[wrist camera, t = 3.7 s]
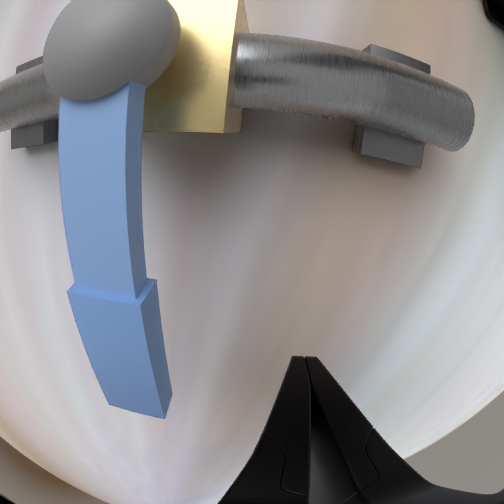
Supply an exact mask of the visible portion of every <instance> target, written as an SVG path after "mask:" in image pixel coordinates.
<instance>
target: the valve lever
mask: <svg viewBox="0 0 504 504" xmlns="http://www.w3.org/2000/svg"><path fill="white" fill-rule="evenodd" d="M180 33H181V27H180V20H179V16H178V14H177V12H176V10H175V9H174V7H173V6H172V5H171V4H170V2H169V1H168V0H72V1H71V2H70V3H69V4H68V5H67V6H66V7H65V8H64V9H63V11H62V12H61V13H60V15H59V16H58V17H57V19H56V21H55V22H54V24H53V26H52V28H51V30H50V32H49V34H48V37H47V40H46V43H45V47H44V53H43V71H44V75H45V78H46V81H47V83H48V85H49V86H50V88H51V89H52V90H53V91H54V92H55V93H56V94H58V95H59V96H60V109H59V176H60V191H61V202H62V211H63V219H64V227H65V234H66V240H67V246H68V252H69V257H70V262H71V267H72V272H73V276H74V281H75V283H74V284H73V285H72V286H71V287H70V288H69V289H68V291H67V294H68V297H69V301H70V305H71V308H72V311H73V315H74V318H75V321H76V324H77V327H78V330H79V333H80V336H81V339H82V342H83V345H84V347H85V350H86V353H87V355H88V358H89V360H90V363H91V365H92V368H93V370H94V373H95V375H96V377H97V380H98V382H99V384H100V386H101V389H102V391H103V393H104V395H105V397H106V399H107V401H108V403H109V405H112V406H115V407H119V408H122V409H126V410H129V411H133V412H137V413H141V414H145V415H149V416H153V417H157V418H162V419H165V417H166V414H167V411H168V407H169V404H170V401H171V397H172V389H171V384H170V378H169V372H168V366H167V360H166V354H165V347H164V340H163V333H162V325H161V317H160V309H159V299H158V289H157V280H156V279H148V278H147V277H146V266H145V254H144V241H143V223H142V193H141V156H142V127H143V110H144V97H145V89H146V88H147V87H149V86H150V85H151V84H152V83H153V82H155V81H156V80H157V79H158V78H159V77H160V76H161V74H162V73H163V72H164V71H165V69H166V68H167V67H168V65H169V64H170V62H171V61H172V59H173V57H174V55H175V53H176V50H177V47H178V44H179V40H180Z"/></svg>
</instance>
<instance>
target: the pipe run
mask: <svg viewBox="0 0 504 504" xmlns="http://www.w3.org/2000/svg"><path fill="white" fill-rule="evenodd" d="M168 1H169V2H170V4H171V5H172V6H173V7H174V9H175V10H176V12H177V14H178V16H179V20H180V27H181V33H180V40H179V44H178V47H177V50H176V53H175V55H174V57H173V59H172V61H171V62H170V64H169V65H168V67H167V68H166V69H165V71H164V72H163V73H162V74H161V76H160V77H159V78H158V79H157V80H156V81H155V82H153V83H152V84H151V85H150V86H149V87H147V88H146V89H145V97H144V110H143V127H142V132H211V133H233V132H241V121H242V110H243V108H252V109H263V110H273V111H282V112H290V113H297V114H304V115H311V116H317V117H323V118H329V119H334V120H339V121H344V122H349V123H354V124H356V128H355V136H354V143H353V151H352V152H355V153H359V154H363V155H368V156H372V157H377V158H381V159H386V160H390V161H394V162H398V163H402V164H406V165H410V166H413V167H417V168H421V162H422V156H423V150H424V143H427V144H430V145H433V146H436V147H439V148H442V149H445V150H448V151H452V152H453V151H458V150H459V149H461V148H462V147H463V146H464V145H465V144H466V143H467V142H468V140H469V138H470V136H471V134H472V131H473V126H474V117H475V116H474V107H473V103H472V101H471V99H470V97H469V95H468V94H467V93H466V92H465V91H463V90H462V89H460V88H458V87H456V86H454V85H452V84H449V83H447V82H445V81H443V80H441V79H439V78H436V77H434V76H432V75H430V65H428V64H426V63H423V62H421V61H418V60H416V59H413V58H411V57H408V56H405V55H403V54H400V53H397V52H394V51H391V50H388V49H385V48H382V47H379V46H376V45H373V44H370V45H369V46H368V47H366V48H365V49H363V50H362V51H359V50H355V49H351V48H347V47H343V46H339V45H334V44H329V43H324V42H319V41H313V40H307V39H301V38H294V37H286V36H278V35H267V34H254V33H249V27H248V21H247V15H246V10H245V4H244V0H168ZM59 109H60V96H59V95H58V94H56V93H55V92H54V91H53V90H52V89H51V88H50V86H49V85H48V83H47V81H46V78H45V75H44V71H43V56H41V57H38V58H36V59H34V60H31V61H29V62H26V63H24V64H22V65H20V66H18V67H17V69H16V75H14V76H11V77H9V78H7V79H5V80H3V81H1V82H0V132H3V131H6V130H10V129H11V149H16V148H22V147H27V146H33V145H39V144H45V143H50V142H55V141H57V121H58V118H59Z"/></svg>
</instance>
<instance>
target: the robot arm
mask: <svg viewBox="0 0 504 504" xmlns="http://www.w3.org/2000/svg"><path fill="white" fill-rule="evenodd" d="M483 4H484V9H485V13H486V15H487V17H488V18H489V19H490V20H491V21H492V22H494V23H495V24H497V25H498V26H499V27H500V28H502V29H503V30H504V0H483ZM0 504H16V503H14V502H13V501H12V500H10V499H9V498H7V497H6V496H4V495H3V494H1V493H0ZM218 504H504V489H502V490H501V491H500V492H498V493H495V494H476V493H471V492H465V491H460V490H454V489H450V488H445V487H441V486H437V485H434V484H432V483H430V482H429V481H427V480H426V479H424V478H423V477H422V476H421V475H420V474H418V473H417V472H416V471H415V470H414V469H413V468H412V467H411V466H410V465H409V464H408V463H407V462H405V461H404V460H403V459H402V458H401V457H400V456H399V455H398V454H397V453H396V452H395V451H394V450H393V449H392V448H391V447H390V446H389V445H388V444H387V442H386V441H385V440H384V439H383V438H382V437H381V436H380V434H379V433H378V432H377V431H376V429H375V428H373V426H372V425H371V423H370V422H369V421H368V420H367V419H366V417H365V416H364V415H363V414H362V412H361V411H360V410H359V409H358V407H357V406H356V405H355V404H354V402H353V401H352V400H351V399H350V398H349V396H348V395H347V394H346V393H345V391H344V390H343V389H342V388H341V386H340V385H339V384H338V383H337V381H336V380H335V379H334V378H333V376H332V375H331V374H330V373H329V371H328V370H327V369H326V367H325V366H324V365H323V364H322V362H321V361H320V360H319V359H318V358H317V357H311V356H306V357H305V358H304V357H303V356H292V357H291V360H290V363H289V366H288V368H287V371H286V374H285V377H284V379H283V382H282V385H281V387H280V390H279V392H278V395H277V398H276V400H275V403H274V405H273V408H272V410H271V413H270V415H269V418H268V420H267V423H266V425H265V427H264V430H263V433H262V434H261V437H260V439H259V441H258V443H257V445H256V447H255V449H254V452H253V454H252V455H251V457H250V459H249V460H248V462H247V463H246V465H245V467H244V468H243V470H242V471H241V473H240V474H239V475H238V477H237V478H236V480H235V481H234V482H233V484H232V485H231V487H230V488H229V489H228V491H227V492H226V493H225V495H224V496H223V497H222V499H221V500H220V501H219V502H218Z"/></svg>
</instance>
